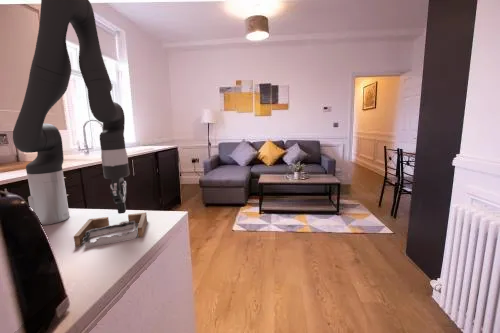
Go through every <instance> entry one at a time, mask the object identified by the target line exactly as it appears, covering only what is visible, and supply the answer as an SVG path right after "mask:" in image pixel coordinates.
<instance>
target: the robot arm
mask: <svg viewBox="0 0 500 333" xmlns="http://www.w3.org/2000/svg"><path fill="white" fill-rule="evenodd" d="M96 23H97V22H96V18H95V14H94V9H93V6H92V4H91V1H90V0H40V12H39V26H38V30H37V31H38V33H37V38H36V42H35V43H36V44H35V49H34V53H33V57H32V61H31V65H30V69H29V70H30V71H29V77H28V81H27V86H26V89H25V90H26V91H25V94H24V99H23V102H22V105H21V108H20V111H19V113H18V117H17V119H16V122H15V123H14V128H13V132H12V141H13V142H12V143H13V144H14V147H15V148H16V149H17V150H18V151H20V152H22V153H28V154H29V153H31V154H33V153H36V154H37V155H36V157H35V158H34V159H33V161H30V162H29V163H27V164H26V166H25V172H26V176H27V181H28V186H29V193H30V195H29V196H28V197H27V200H28V207H29V206H30V207H31V208H32V209H33V211H34V212H35V213H36V215H37V216H38V218H39V220H40V222H41V224H42V225H41V226H46V225H51V224H52V225H53V224H58V223H61V222H63V221H66V220H68V219H69V218H70V210H69V204H68V197H67V190H66V185H65V184H66V183H65V177H64V170H63V163H64V147H63V139H62V138H63V137H62V135H61V133H60V131H59V129H58V128H57V127H56V126H55V124H54V125H53V124H51V123H44V122H45V119H46V117H47V115H48V113H49V111H50V110H51V109H52V108H53V107H54V106H55V105H56V104H57V102H58V101H59V100H61V98H62V97H63V96H64V95H65V93H66V92H67V90H68V87H69V84H70V79H71V76H72V63H71V59H70V55H69V52H68V46H67V35H68V34H67V33H68V28H69V25H70V24H71V26H72V28H73V30H74V32H75V35H76V37H77V40H78V46H79V49H78V50H79V51H78V65H79V71H80V73H81V77H82V79H83V82H84V84H85V86H86V87H85V88H86V89H87V98H88V99H87V100H88V104H89V109H90V111H91V114H92V116H93V117H94V119H96V120H97V121H99V122H100V123H102V132H100V134H99V144H100V150H101V151H100V152H101V154H100V156H101V158H100V159H101V163H102V164H101V165H102V171H103V178H104V179H107V180H111V183H110V186H109V187H110V192H109V194H110V196H111V198H112V201H113V203H114V204H116V206H117V213H118V214H119V215H120V214H125V213H126V210H127V208H126V198H127V186H128V185H127V181H126V180H125V179H124V178H126V177H129V176H130V168H129V159H128V158H129V157H128V153H127V149H126V142H125V124H126V123H125V121H126V120H125V112H124V110H123V107H122V106H121V105H120V104H119V103H117V102H115V101H114V100H113V97H112V94H111V93H112V92H111V91H112V90H113V84H112V82H111V78H110V76H109V72H108V70H107V67H106V63H105V61H104V58H103V53H102V49H101V44H100V41H99V40H100V39H99V36H98V30H97V24H96ZM30 207H29V208H30Z"/></svg>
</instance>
